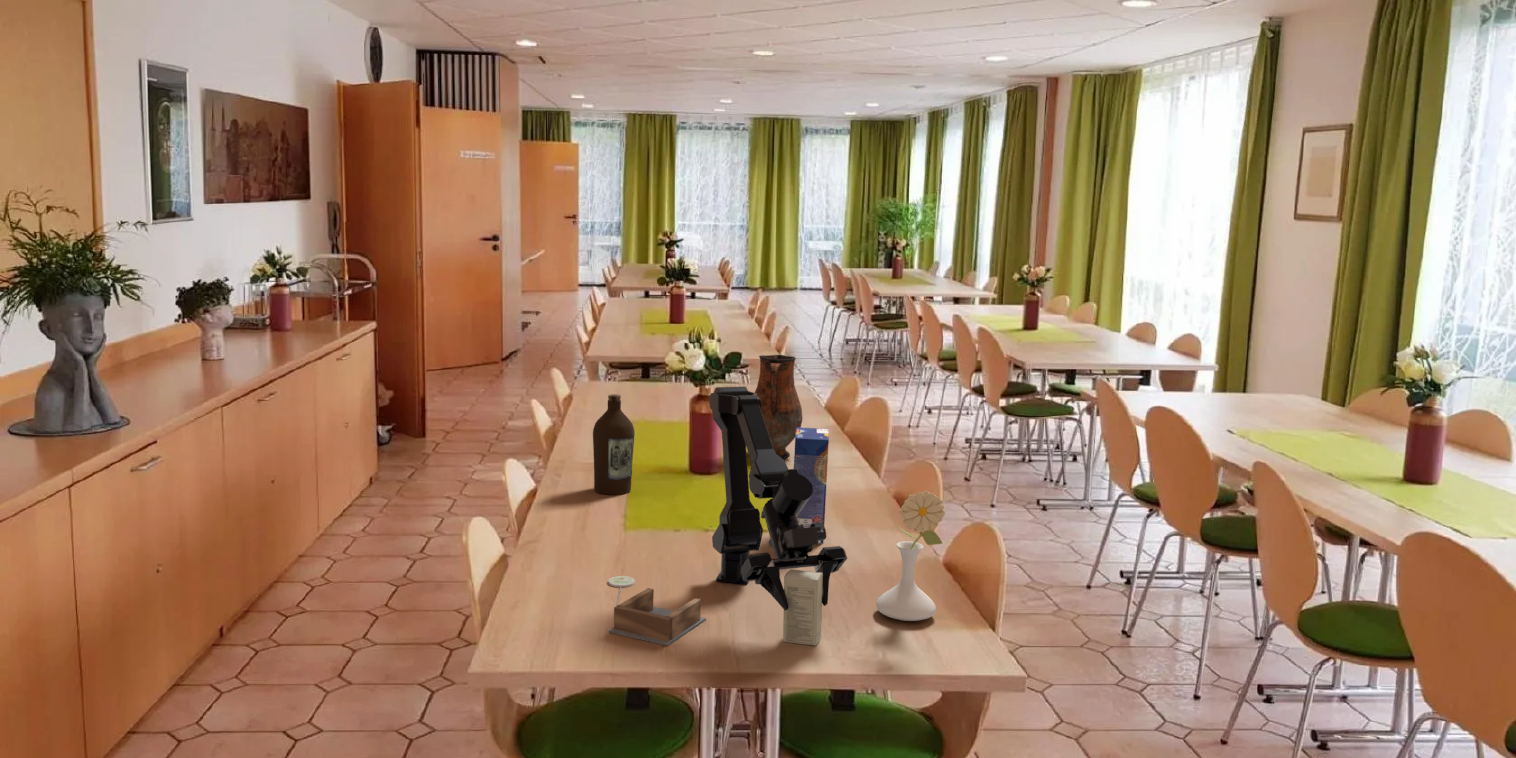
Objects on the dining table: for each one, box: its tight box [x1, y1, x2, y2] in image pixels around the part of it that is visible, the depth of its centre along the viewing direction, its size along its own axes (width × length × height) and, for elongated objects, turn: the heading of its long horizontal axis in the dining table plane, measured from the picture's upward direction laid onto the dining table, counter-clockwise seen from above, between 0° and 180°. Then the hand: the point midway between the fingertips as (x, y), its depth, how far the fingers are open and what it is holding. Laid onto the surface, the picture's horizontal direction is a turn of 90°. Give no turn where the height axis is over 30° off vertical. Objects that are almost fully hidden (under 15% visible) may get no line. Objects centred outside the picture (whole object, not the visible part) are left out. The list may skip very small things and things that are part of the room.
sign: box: [607, 575, 636, 606], centre depth 223 cm, size 5×1×15 cm
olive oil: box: [592, 393, 635, 496], centre depth 294 cm, size 11×11×25 cm
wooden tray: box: [613, 587, 702, 642], centre depth 206 cm, size 12×11×4 cm
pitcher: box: [754, 354, 803, 460], centre depth 337 cm, size 17×21×30 cm
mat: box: [608, 605, 707, 647], centre depth 207 cm, size 14×12×1 cm
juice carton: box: [793, 427, 830, 544], centre depth 263 cm, size 12×8×24 cm, turn 177°
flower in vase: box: [875, 490, 946, 622], centre depth 214 cm, size 13×11×25 cm
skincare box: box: [782, 568, 823, 646], centre depth 202 cm, size 6×4×12 cm
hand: (806, 607), depth 201 cm, fingers closed on skincare box, 7 cm apart
